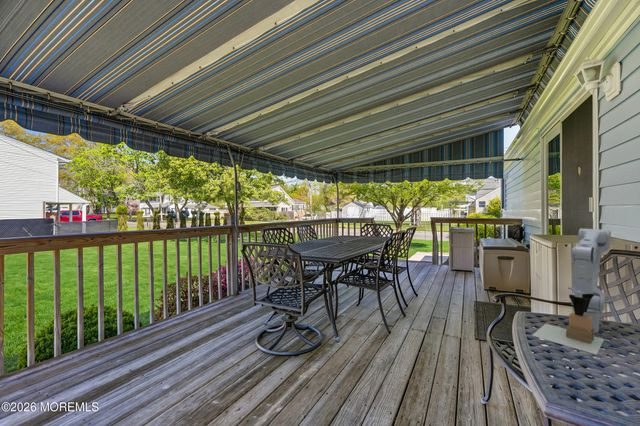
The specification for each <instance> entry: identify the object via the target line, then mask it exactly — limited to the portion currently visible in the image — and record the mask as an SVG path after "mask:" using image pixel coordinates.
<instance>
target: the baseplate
mask: <svg viewBox="0 0 640 426" xmlns="http://www.w3.org/2000/svg"><path fill="white" fill-rule="evenodd" d="M531 336H533V337H536V338H539V339H543V340H547V341H549V342H552V343H556V344H560V345H563V346H566V347H569V348H572V349H576V350H580V351H584V352H587V353H590V354H593V355H595V356H597V354H598V353H599V350H600V348H601V347H602V345H603V343H604V341H605V339H604V338H602V337H601V338H600V337H597V336H594V340H593V341H592V343H591V344H589V343H585V342H582V341H578V340H575V339H571V338H567V337H566V328H563V327H560V326H555V325H552V324H549V323H548V324H547V323H544V325H542V326H541V327H539V329H538V330H536V331H535V332H534V333H533V334H532V335H531Z"/></svg>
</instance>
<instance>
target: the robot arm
mask: <svg viewBox="0 0 640 426" xmlns="http://www.w3.org/2000/svg"><path fill="white" fill-rule="evenodd" d="M611 237H612V232H611V230H610V229H599V228H598V229H597V228H596V229H595V228H583V227H581V228H580V229H579V230H578V235H577V238H578V243H577V245H575V246H573V247H572V249H571V255H570V256H571V265H572V276H571V278H572V279H571V286H568V287H567V289H568V290H571V291H572V293H571V294H570V293H569V295H568V297H569V299H570V302H571V305H572V307H573V313H575V315H579V316H583V315H585V316H589V317H593V320H592V328H594V334H596V333H597V334H598V333H599V331H600V330H599V329H600V328H599V327H600V313H603V312H604V311H605V308H606V295H605V293H604V291H603V290H601V289H599V288H598V282H599V281H598V279H599V271H600V263H601V257H602V255H603V253H605V252H608V251H609V249H610V247H611V246H610V245H611V244H610V243H611V239H612V238H611Z"/></svg>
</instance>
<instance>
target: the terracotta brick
mask: <svg viewBox="0 0 640 426" xmlns="http://www.w3.org/2000/svg"><path fill="white" fill-rule="evenodd" d="M592 320H593V317H589V316H585V315H583V316H579V315H575V312H570V314H569V316H568V325H569V327H573V328H577V329H581V330H585V331H589V332H590V331H591V330H592Z"/></svg>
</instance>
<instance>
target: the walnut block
mask: <svg viewBox="0 0 640 426" xmlns="http://www.w3.org/2000/svg"><path fill="white" fill-rule="evenodd" d="M565 329H566V337H567V338H571V339H575V340H578V341H582V342H585V343H589V344H591V343H592V341H593V340H594V337H595V333H594V328H592V330H591V331H590V332H589V331H585V330H581V329H577V328H573V327H569V324H567V325H566V328H565Z"/></svg>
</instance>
